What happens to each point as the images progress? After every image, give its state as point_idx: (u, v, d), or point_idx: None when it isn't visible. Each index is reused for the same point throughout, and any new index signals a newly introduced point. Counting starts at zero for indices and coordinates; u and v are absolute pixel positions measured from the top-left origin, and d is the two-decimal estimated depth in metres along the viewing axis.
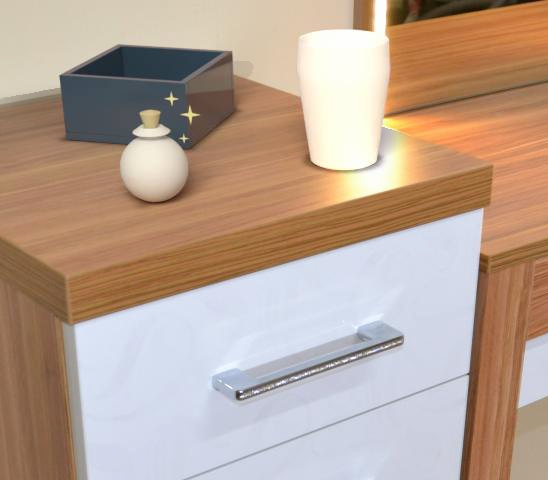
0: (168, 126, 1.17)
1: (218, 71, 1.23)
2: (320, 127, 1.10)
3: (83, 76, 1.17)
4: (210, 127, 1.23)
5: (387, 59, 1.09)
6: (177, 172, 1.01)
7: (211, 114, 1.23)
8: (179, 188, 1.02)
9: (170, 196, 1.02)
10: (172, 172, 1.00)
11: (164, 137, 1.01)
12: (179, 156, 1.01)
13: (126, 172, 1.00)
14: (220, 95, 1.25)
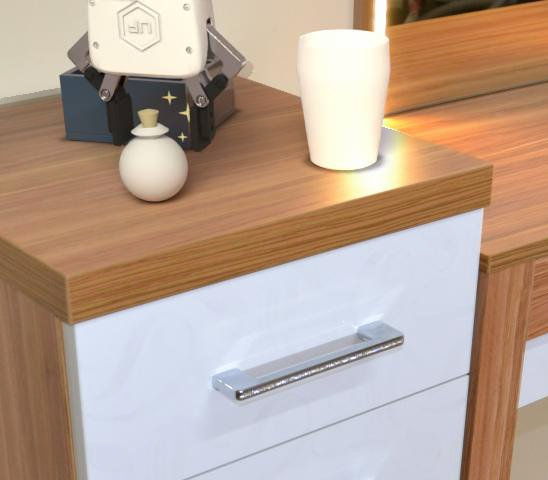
0: (168, 126, 1.17)
1: (218, 71, 1.23)
2: (320, 127, 1.10)
3: (83, 76, 1.17)
4: None
5: (387, 59, 1.09)
6: (176, 171, 1.01)
7: None
8: (179, 187, 1.02)
9: (170, 195, 1.02)
10: (171, 171, 1.00)
11: (163, 136, 1.01)
12: (178, 155, 1.01)
13: (125, 172, 1.00)
14: (220, 95, 1.25)
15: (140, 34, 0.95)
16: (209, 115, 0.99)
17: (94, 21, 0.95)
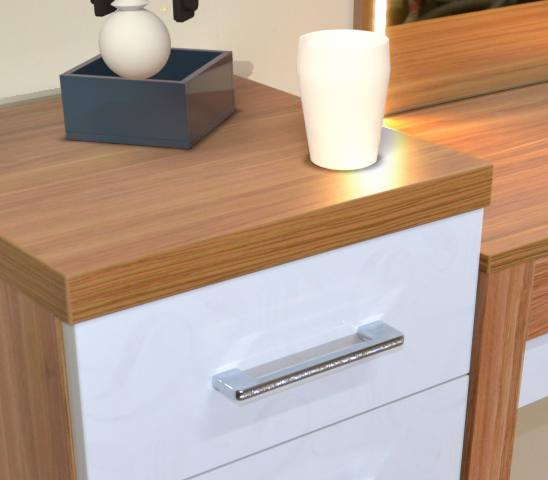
0: (168, 126, 1.17)
1: (218, 71, 1.23)
2: (320, 127, 1.10)
3: (83, 76, 1.17)
4: (210, 127, 1.23)
5: (387, 59, 1.09)
6: (158, 44, 0.96)
7: (211, 114, 1.23)
8: (161, 63, 0.97)
9: (152, 71, 0.97)
10: (153, 43, 0.96)
11: (144, 9, 0.97)
12: (160, 28, 0.96)
13: (105, 45, 0.96)
14: (220, 95, 1.25)
15: None
16: None
17: None
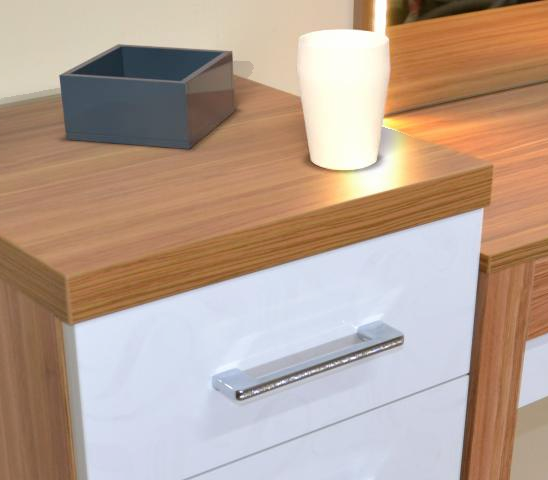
0: (168, 126, 1.17)
1: (218, 71, 1.23)
2: (320, 127, 1.10)
3: (83, 76, 1.17)
4: (210, 127, 1.23)
5: (387, 59, 1.09)
6: None
7: (211, 114, 1.23)
8: None
9: None
10: None
11: None
12: None
13: None
14: (220, 95, 1.25)
15: None
16: None
17: None
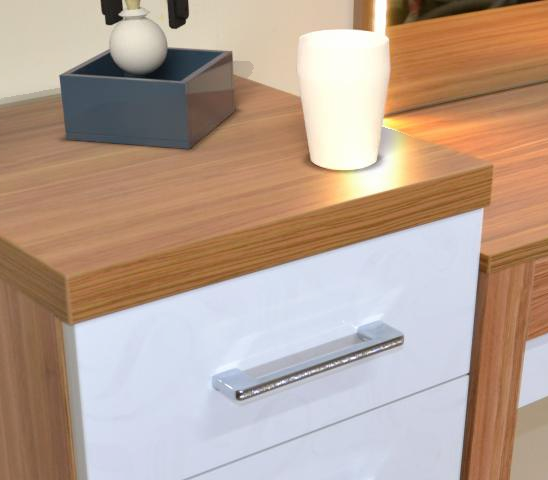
0: (168, 126, 1.17)
1: (218, 71, 1.23)
2: (320, 127, 1.10)
3: (83, 76, 1.17)
4: (210, 127, 1.23)
5: (387, 59, 1.09)
6: (157, 46, 1.19)
7: (211, 114, 1.23)
8: (160, 61, 1.21)
9: (152, 68, 1.21)
10: (153, 45, 1.19)
11: (145, 18, 1.20)
12: (158, 33, 1.20)
13: (114, 48, 1.19)
14: (220, 95, 1.25)
15: None
16: None
17: None
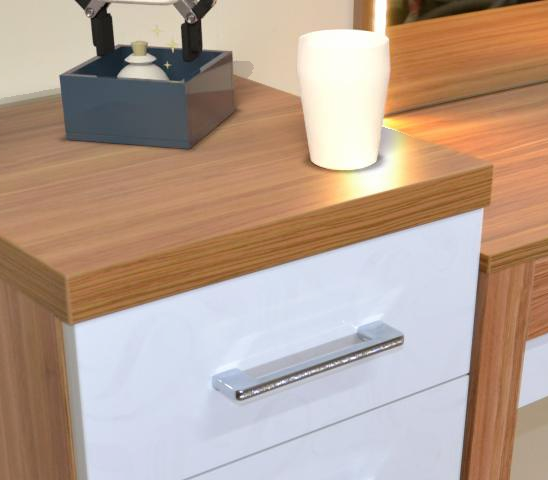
0: (168, 126, 1.17)
1: (218, 71, 1.23)
2: (320, 127, 1.10)
3: (83, 76, 1.17)
4: (210, 127, 1.23)
5: (387, 59, 1.09)
6: None
7: (211, 114, 1.23)
8: None
9: None
10: None
11: (151, 64, 1.22)
12: (163, 79, 1.22)
13: None
14: (220, 95, 1.25)
15: None
16: (197, 31, 1.19)
17: None
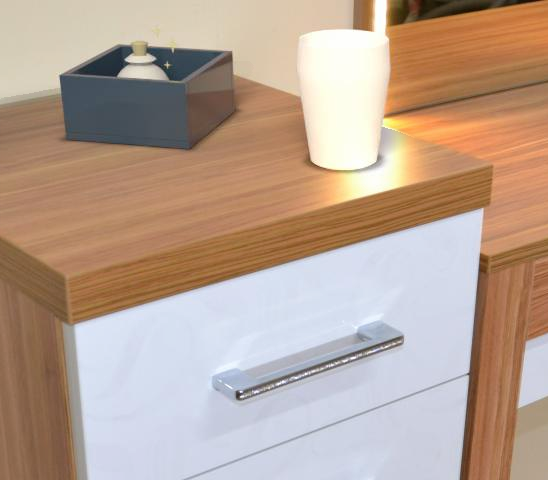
0: (168, 126, 1.17)
1: (218, 71, 1.23)
2: (320, 127, 1.10)
3: (83, 76, 1.17)
4: (210, 127, 1.23)
5: (387, 59, 1.09)
6: None
7: (211, 114, 1.23)
8: None
9: None
10: None
11: (151, 64, 1.22)
12: (163, 79, 1.22)
13: None
14: (220, 95, 1.25)
15: None
16: None
17: None
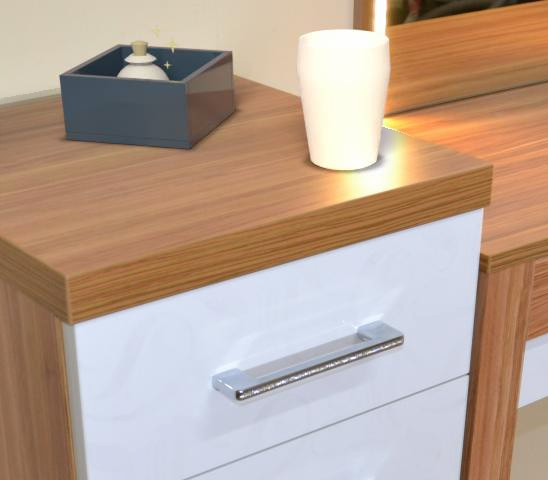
0: (168, 126, 1.17)
1: (218, 71, 1.23)
2: (320, 127, 1.10)
3: (83, 76, 1.17)
4: (210, 127, 1.23)
5: (387, 59, 1.09)
6: None
7: (211, 114, 1.23)
8: None
9: None
10: None
11: (151, 64, 1.22)
12: (163, 79, 1.22)
13: None
14: (220, 95, 1.25)
15: None
16: None
17: None
